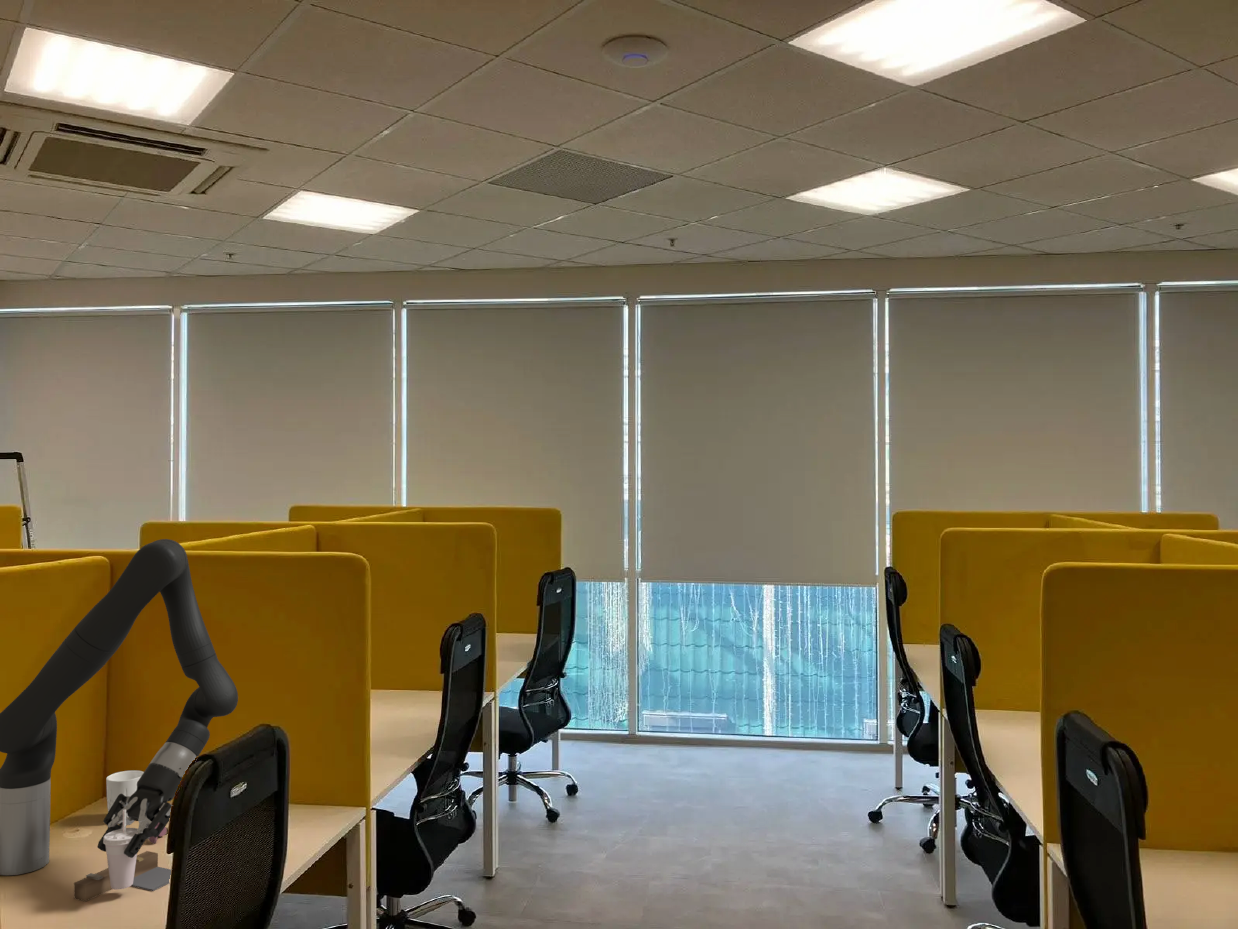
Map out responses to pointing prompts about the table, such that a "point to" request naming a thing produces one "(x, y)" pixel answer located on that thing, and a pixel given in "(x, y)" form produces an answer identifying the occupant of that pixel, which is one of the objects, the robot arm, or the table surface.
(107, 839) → the smoothie
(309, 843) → the table surface
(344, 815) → the table surface
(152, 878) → the end pad
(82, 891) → the guide rail
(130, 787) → the white cup
